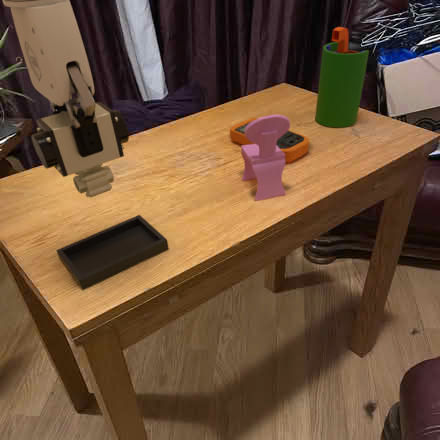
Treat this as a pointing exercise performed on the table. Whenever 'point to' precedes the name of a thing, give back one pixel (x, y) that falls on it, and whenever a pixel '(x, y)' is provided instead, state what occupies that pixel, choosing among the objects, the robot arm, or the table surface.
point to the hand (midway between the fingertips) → (82, 144)
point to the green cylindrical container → (340, 82)
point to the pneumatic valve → (69, 155)
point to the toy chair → (265, 155)
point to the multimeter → (287, 143)
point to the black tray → (111, 251)
